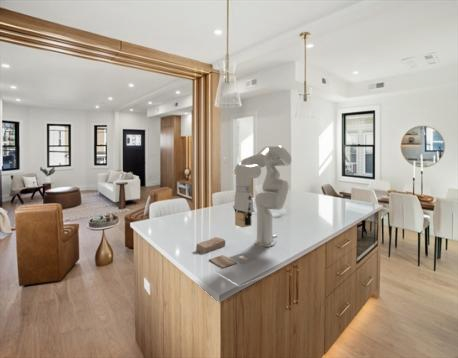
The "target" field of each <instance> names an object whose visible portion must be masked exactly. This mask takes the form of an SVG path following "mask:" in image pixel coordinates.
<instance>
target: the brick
mask: <svg viewBox="0 0 458 358" xmlns="http://www.w3.org/2000/svg"><path fill="white" fill-rule="evenodd" d="M225 246H226V239H224V238H222V237H216V236H215V237H212V238H209V239H207V240H205V241H201V242H199V243H197V244H196V248H195V250H196V251H197V252H199V253H201V254H206V253H208V252H209V253H210V252H211V251H214V250H217V249H220V248H223V247H225Z"/></svg>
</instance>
